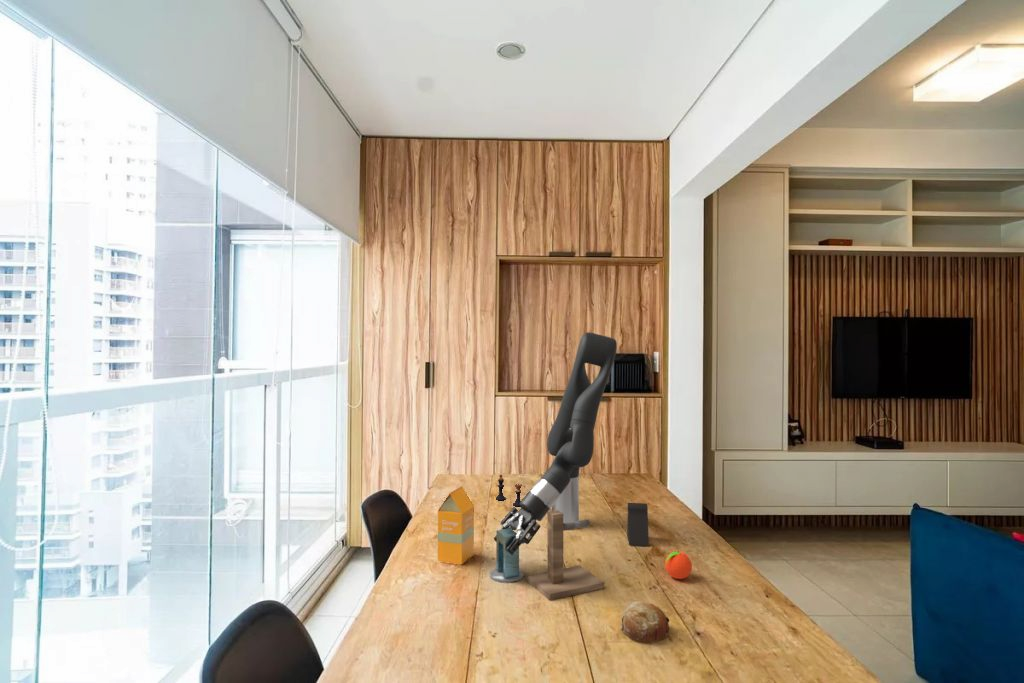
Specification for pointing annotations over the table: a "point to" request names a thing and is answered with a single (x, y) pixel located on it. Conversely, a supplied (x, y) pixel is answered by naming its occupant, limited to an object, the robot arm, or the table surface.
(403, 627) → the table surface
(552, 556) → the stand
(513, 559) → the c link
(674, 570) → the clementine
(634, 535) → the phone stand
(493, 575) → the coaster
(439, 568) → the table surface
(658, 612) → the bread roll
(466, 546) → the orange juice
